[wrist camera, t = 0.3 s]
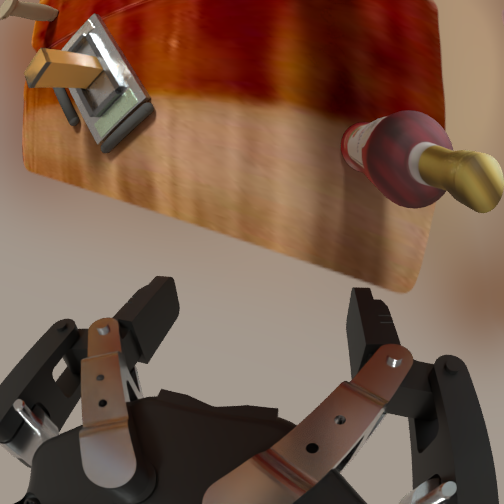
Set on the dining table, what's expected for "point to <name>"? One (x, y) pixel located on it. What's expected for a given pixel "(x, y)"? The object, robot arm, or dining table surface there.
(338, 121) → the dining table surface
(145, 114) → the dark grey rounded bar
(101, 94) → the panel
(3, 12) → the handle
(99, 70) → the tan wooden block
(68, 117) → the grey rounded rod
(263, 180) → the dining table surface
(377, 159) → the liquor
